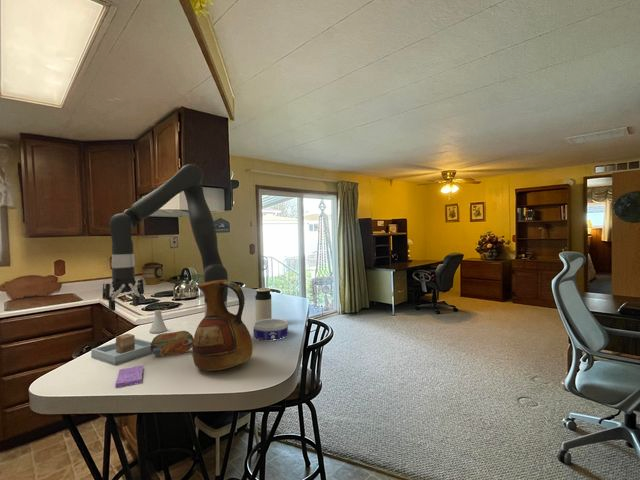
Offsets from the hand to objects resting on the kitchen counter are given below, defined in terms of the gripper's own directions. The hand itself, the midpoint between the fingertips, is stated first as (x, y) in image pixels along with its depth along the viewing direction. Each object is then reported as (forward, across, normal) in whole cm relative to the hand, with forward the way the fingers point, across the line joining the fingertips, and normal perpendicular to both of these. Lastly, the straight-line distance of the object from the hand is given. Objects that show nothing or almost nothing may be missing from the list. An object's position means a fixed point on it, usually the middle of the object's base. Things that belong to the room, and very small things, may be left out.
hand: (124, 308), depth 124 cm
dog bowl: (+19, +45, -35) cm, 60 cm away
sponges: (+18, -11, -23) cm, 31 cm away
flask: (+18, +25, +17) cm, 35 cm away
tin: (+18, +9, -16) cm, 26 cm away
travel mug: (+19, +58, -20) cm, 64 cm away
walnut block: (+17, 0, 0) cm, 17 cm away
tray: (+18, 0, 0) cm, 18 cm away
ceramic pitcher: (+18, +10, -42) cm, 47 cm away
